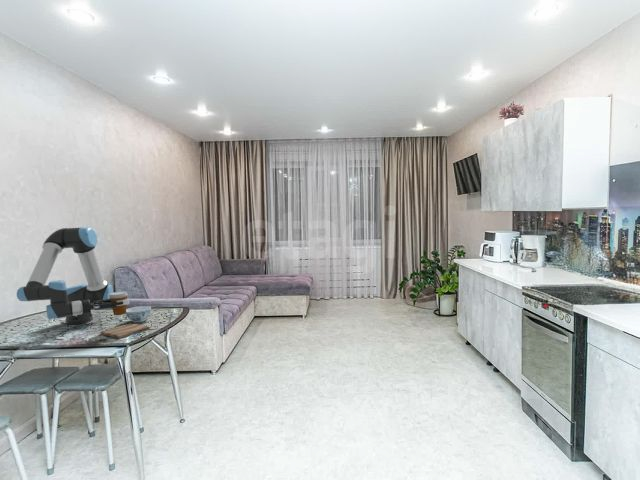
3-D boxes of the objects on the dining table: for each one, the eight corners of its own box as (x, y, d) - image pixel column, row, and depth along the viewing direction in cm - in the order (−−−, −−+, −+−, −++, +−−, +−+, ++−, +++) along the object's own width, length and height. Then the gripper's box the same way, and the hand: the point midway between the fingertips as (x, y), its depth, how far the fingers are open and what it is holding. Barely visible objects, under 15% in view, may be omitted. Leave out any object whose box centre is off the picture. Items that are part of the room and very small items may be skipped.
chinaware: (141, 324, 233) (140, 312, 233) (120, 324, 236) (119, 312, 236) (156, 317, 248) (155, 306, 247) (136, 317, 251) (135, 305, 250)
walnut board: (101, 334, 218) (101, 331, 217) (131, 325, 233) (131, 323, 233) (119, 338, 208) (118, 335, 208) (149, 329, 223) (149, 326, 223)
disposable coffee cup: (115, 312, 222) (113, 291, 221) (132, 311, 223) (130, 290, 222) (107, 316, 213) (105, 295, 212) (124, 315, 213) (123, 294, 213)
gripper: (81, 310, 216) (126, 303, 229) (83, 318, 199) (131, 310, 212) (80, 297, 216) (124, 291, 228) (82, 303, 198) (130, 296, 211)
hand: (128, 300), depth 220 cm, fingers closed on disposable coffee cup, 8 cm apart
